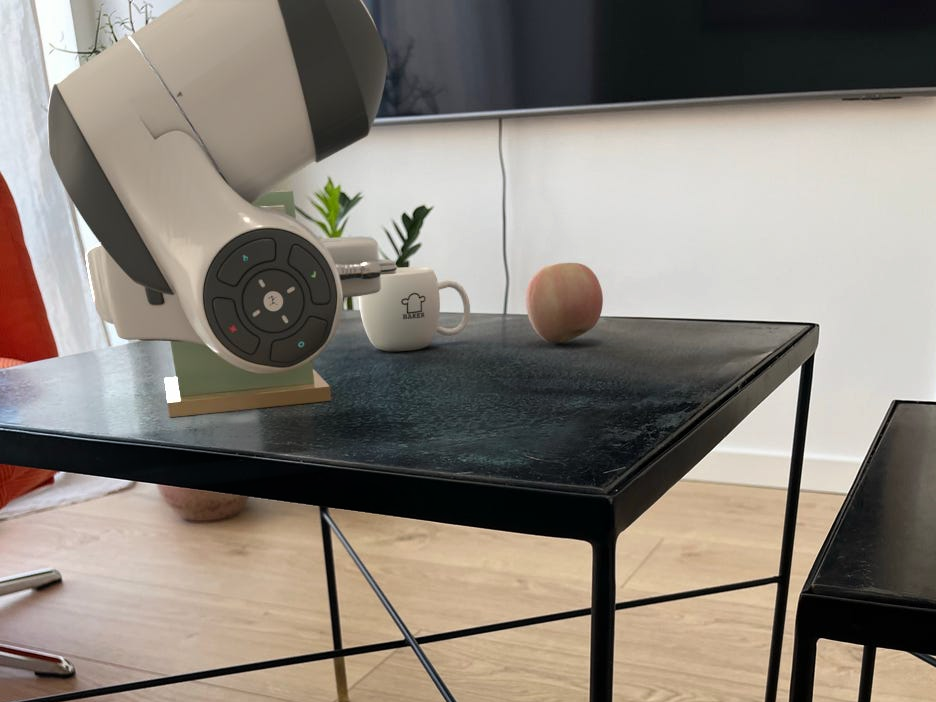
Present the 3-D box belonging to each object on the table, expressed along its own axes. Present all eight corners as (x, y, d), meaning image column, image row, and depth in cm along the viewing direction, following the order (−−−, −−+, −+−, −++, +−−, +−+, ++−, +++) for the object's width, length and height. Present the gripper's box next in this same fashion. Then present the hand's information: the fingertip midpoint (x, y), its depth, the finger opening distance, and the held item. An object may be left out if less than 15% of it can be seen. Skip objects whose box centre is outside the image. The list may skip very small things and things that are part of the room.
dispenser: (333, 403, 83) (311, 189, 76) (170, 420, 80) (131, 198, 73) (311, 377, 94) (289, 190, 88) (167, 391, 91) (133, 198, 85)
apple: (611, 338, 108) (612, 258, 105) (587, 350, 102) (587, 265, 98) (542, 337, 111) (540, 259, 108) (514, 348, 105) (512, 266, 101)
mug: (373, 357, 104) (366, 276, 100) (355, 346, 111) (348, 270, 108) (484, 346, 107) (480, 267, 104) (459, 336, 114) (455, 262, 111)
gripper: (399, 217, 67) (361, 214, 79) (72, 236, 62) (85, 229, 74) (406, 317, 70) (368, 299, 82) (93, 342, 65) (102, 319, 77)
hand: (231, 266), depth 78 cm, fingers closed, pressing on push plate
